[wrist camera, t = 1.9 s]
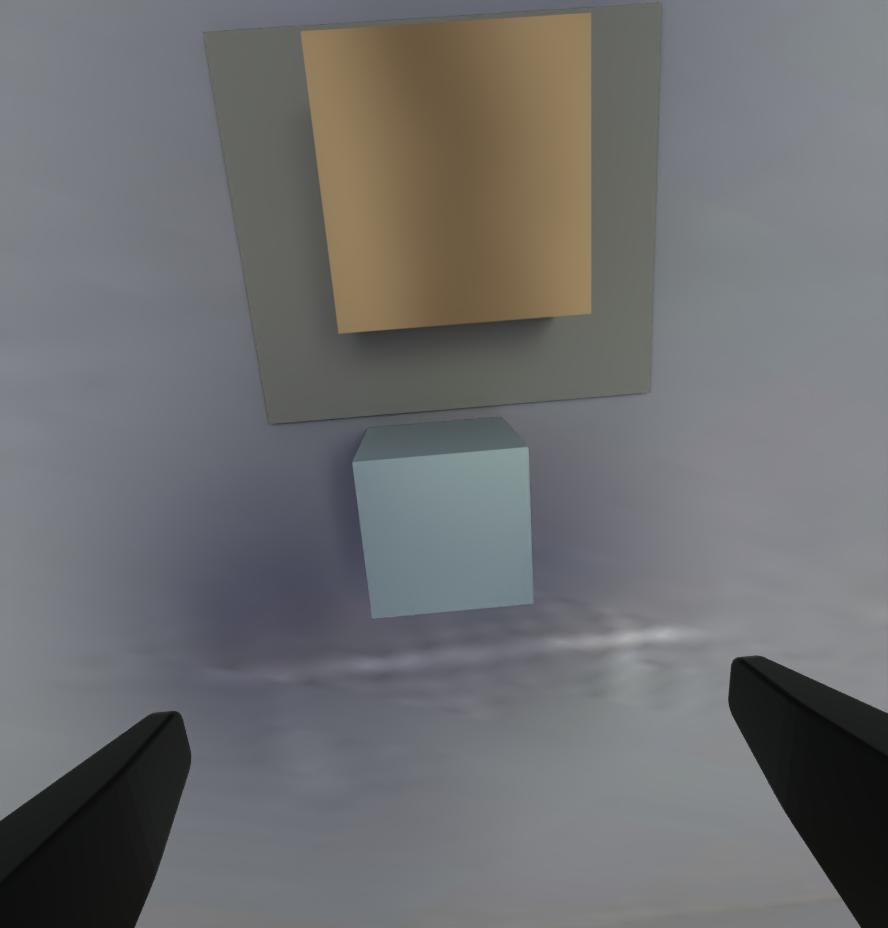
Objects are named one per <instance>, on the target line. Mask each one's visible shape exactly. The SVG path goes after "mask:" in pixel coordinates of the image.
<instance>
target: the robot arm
mask: <svg viewBox="0 0 888 928" xmlns="http://www.w3.org/2000/svg"><path fill="white" fill-rule="evenodd" d="M728 702H729V708H730V711H731V714H732V716H733V718H734V720H735V722H736V723H737V725H738V727H739V729H740V731H741V733H742V735H743V736H744V738H745V740H746V742H747V744H748V746H749V748H750V749H751V751H752V753H753V755H754V757H755V759H756V760H757V762H758V764H759V766H760V768H761V770H762V772H763V773H764V775H765V777H766V779H767V781H768V783H769V785H770V786H771V788H772V790H773V792H774V794H775V796H776V797H777V799H778V801H779V802H780V804H781V806H782V808H783V809H784V811H785V813H786V814H787V816H788V817H789V819H790V821H791V822H792V824H793V825H794V827H795V828H796V830H797V831H798V833H799V834H800V836H801V837H802V839H803V840H804V842H805V844H806V845H807V847H808V848H809V850H810V851H811V853H812V854H813V856H814V857H815V859H816V860H817V862H818V863H819V865H820V866H821V868H822V869H823V871H824V872H825V874H826V875H827V877H828V878H829V880H830V881H831V883H832V884H833V886H834V887H835V889H836V890H837V892H838V893H839V895H840V896H841V898H842V899H843V901H844V903H845V904H846V905H847V907H848V909H849V910H850V911H851V913H852V915H853V916H854V918H855V919H856V921H857V922H858V924H859V925H860V927H861V928H888V713H886V712H883V711H881V710H879V709H877V708H875V707H872V706H870V705H868V704H866V703H864V702H861V701H859V700H857V699H855V698H853V697H850V696H848V695H846V694H844V693H842V692H839V691H837V690H835V689H833V688H831V687H828V686H826V685H824V684H822V683H820V682H817V681H815V680H813V679H811V678H809V677H806V676H804V675H802V674H800V673H798V672H795V671H793V670H791V669H789V668H787V667H784V666H782V665H780V664H778V663H776V662H773V661H771V660H769V659H767V658H765V657H762V656H745V657H737V658H735V659H734V660H733V662H732V664H731V672H730V684H729V696H728ZM190 765H191V750H190V746H189V742H188V738H187V734H186V730H185V726H184V722H183V718H182V716H181V714H180V713H179V712H177V711H167V712H157V713H152V714H150V715H148V716H147V717H145V718H144V719H142V720H141V721H140V722H138V723H137V724H135V725H134V726H133V727H131V728H130V729H128V730H127V731H126V732H124V733H123V734H121V735H120V736H119V737H117V738H116V739H114V740H113V741H112V742H110V743H109V744H107V745H106V746H105V747H103V748H102V749H100V750H99V751H98V752H96V753H95V754H93V755H92V756H91V757H89V758H88V759H86V760H85V761H84V762H82V763H81V764H79V765H78V766H77V767H75V768H74V769H72V770H71V771H70V772H68V773H67V774H65V775H64V776H63V777H61V778H60V779H58V780H57V781H56V782H54V783H53V784H51V785H50V786H48V787H47V788H46V789H44V790H43V791H41V792H40V793H39V794H37V795H36V796H34V797H33V798H32V799H30V800H29V801H27V802H26V803H25V804H23V805H22V806H20V807H19V808H18V809H16V810H15V811H13V812H12V813H11V814H9V815H8V816H6V817H5V818H4V819H2V820H1V821H0V928H135V925H136V923H137V921H138V918H139V916H140V913H141V911H142V908H143V906H144V904H145V901H146V899H147V896H148V894H149V891H150V889H151V886H152V884H153V881H154V879H155V876H156V873H157V871H158V868H159V865H160V862H161V859H162V856H163V853H164V849H165V846H166V843H167V840H168V837H169V833H170V830H171V827H172V824H173V821H174V818H175V814H176V811H177V808H178V805H179V802H180V798H181V795H182V792H183V789H184V786H185V782H186V779H187V776H188V773H189V769H190Z"/></svg>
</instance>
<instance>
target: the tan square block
mask: <svg viewBox="0 0 888 928" xmlns="http://www.w3.org/2000/svg"><path fill="white" fill-rule="evenodd" d="M301 39H302V47H303V55H304V63H305V71H306V79H307V87H308V95H309V103H310V111H311V119H312V127H313V135H314V142H315V150H316V158H317V166H318V174H319V182H320V190H321V198H322V206H323V214H324V222H325V230H326V238H327V245H328V253H329V261H330V269H331V277H332V285H333V293H334V301H335V309H336V317H337V325H338V333H352V332H365V331H377V330H390V329H403V328H415V327H428V326H441V325H453V324H466V323H479V322H491V321H504V320H517V319H529V318H542V317H555V316H567V315H580V314H591V13H579V14H563V15H548V16H532V17H516V18H501V19H485V20H469V21H454V22H438V23H423V24H407V25H391V26H376V27H360V28H344V29H329V30H313V31H301Z"/></svg>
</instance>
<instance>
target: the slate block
mask: <svg viewBox="0 0 888 928" xmlns="http://www.w3.org/2000/svg"><path fill="white" fill-rule="evenodd" d="M352 466H353V474H354V481H355V489H356V497H357V505H358V513H359V520H360V528H361V536H362V544H363V552H364V559H365V567H366V575H367V583H368V591H369V598H370V606H371V614H372V619H376V618H387V617H398V616H408V615H419V614H429V613H440V612H451V611H461V610H472V609H482V608H493V607H503V606H514V605H525V604H534V599H533V569H532V539H531V510H530V480H529V450H528V446H527V445H526V444H525V443H524V441H523V440H522V439H521V438H520V437H519V436H518V435H517V434H516V432H515V431H514V430H513V429H512V428H511V427H510V426H509V425H508V423H507V422H506V421H505V420H504V419H503V418H502V417H490V418H478V419H466V420H454V421H442V422H430V423H418V424H406V425H395V426H383V427H371V428H368V429H367V431H366V433H365V435H364V438H363V440H362V442H361V444H360V446H359V448H358V450H357V453H356V455H355V457H354V459H353V461H352Z"/></svg>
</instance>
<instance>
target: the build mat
mask: <svg viewBox="0 0 888 928" xmlns="http://www.w3.org/2000/svg"><path fill="white" fill-rule="evenodd" d="M579 13H591V314H580V315H567V316H555V317H542V318H529V319H517V320H504V321H491V322H479V323H466V324H453V325H441V326H428V327H415V328H403V329H390V330H377V331H365V332H352V333H338V325H337V317H336V309H335V301H334V293H333V285H332V277H331V269H330V261H329V253H328V245H327V238H326V230H325V222H324V214H323V206H322V198H321V190H320V182H319V174H318V166H317V158H316V150H315V142H314V135H313V127H312V119H311V111H310V103H309V95H308V87H307V79H306V71H305V63H304V55H303V47H302V39H301V31H313V30H329V29H344V28H360V27H376V26H391V25H407V24H423V23H438V22H454V21H469V20H485V19H501V18H516V17H532V16H548V15H563V14H579ZM661 24H662V3H650V4H634V5H618V6H603V7H587V8H571V9H555V10H540V11H524V12H508V13H493V14H477V15H461V16H446V17H430V18H414V19H399V20H383V21H367V22H352V23H336V24H320V25H304V26H289V27H273V28H257V29H242V30H226V31H210V32H203V36H204V42H205V48H206V54H207V60H208V66H209V72H210V78H211V84H212V89H213V95H214V101H215V107H216V113H217V119H218V125H219V131H220V137H221V143H222V149H223V155H224V161H225V167H226V173H227V178H228V184H229V190H230V196H231V202H232V208H233V214H234V220H235V226H236V232H237V238H238V244H239V250H240V256H241V262H242V267H243V273H244V279H245V285H246V291H247V297H248V303H249V309H250V315H251V321H252V327H253V333H254V339H255V345H256V351H257V357H258V362H259V368H260V374H261V380H262V386H263V392H264V398H265V404H266V410H267V416H268V422H269V424H277V423H289V422H301V421H313V420H325V419H337V418H349V417H361V416H373V415H385V414H397V413H409V412H421V411H433V410H445V409H457V408H469V407H481V406H493V405H505V404H517V403H529V402H541V401H553V400H565V399H577V398H589V397H601V396H613V395H625V394H637V393H649V392H650V390H651V356H652V323H653V290H654V257H655V223H656V190H657V157H658V124H659V91H660V57H661Z"/></svg>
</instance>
